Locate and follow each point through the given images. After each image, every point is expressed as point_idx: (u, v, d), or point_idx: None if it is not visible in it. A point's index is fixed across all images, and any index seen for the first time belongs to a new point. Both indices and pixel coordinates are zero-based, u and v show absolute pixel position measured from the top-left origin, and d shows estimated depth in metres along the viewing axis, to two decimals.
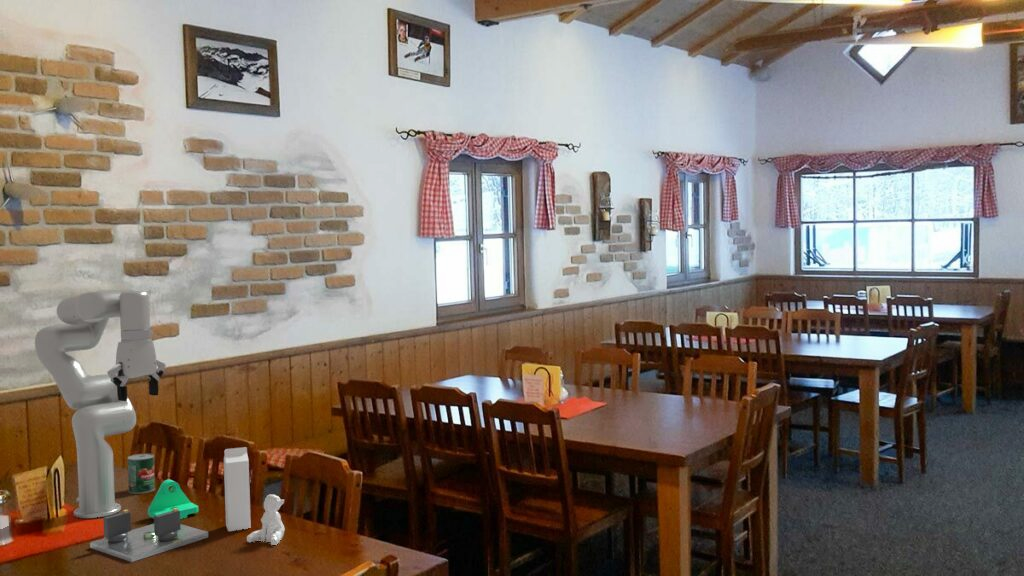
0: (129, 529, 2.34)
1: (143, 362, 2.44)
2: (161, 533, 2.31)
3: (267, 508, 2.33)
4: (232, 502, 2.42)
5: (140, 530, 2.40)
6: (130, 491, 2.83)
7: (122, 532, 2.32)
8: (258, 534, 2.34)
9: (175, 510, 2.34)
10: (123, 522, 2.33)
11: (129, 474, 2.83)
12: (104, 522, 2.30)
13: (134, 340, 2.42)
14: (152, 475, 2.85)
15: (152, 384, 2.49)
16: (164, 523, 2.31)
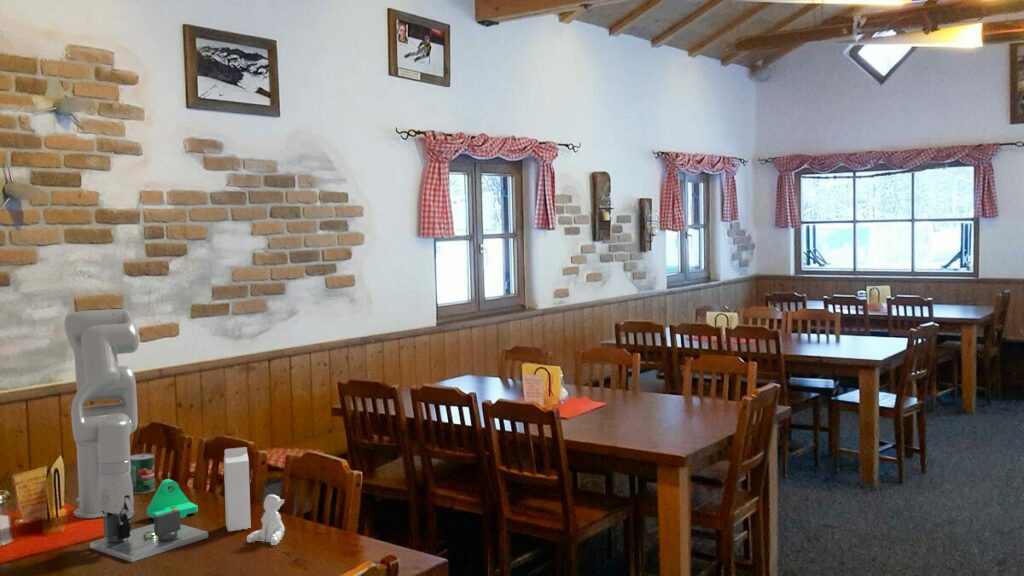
0: None
1: None
2: (161, 533, 2.31)
3: (267, 508, 2.33)
4: (232, 502, 2.42)
5: (140, 530, 2.40)
6: None
7: None
8: (258, 534, 2.34)
9: (175, 510, 2.34)
10: None
11: None
12: (104, 522, 2.30)
13: (130, 469, 2.32)
14: (152, 475, 2.85)
15: None
16: (164, 523, 2.31)
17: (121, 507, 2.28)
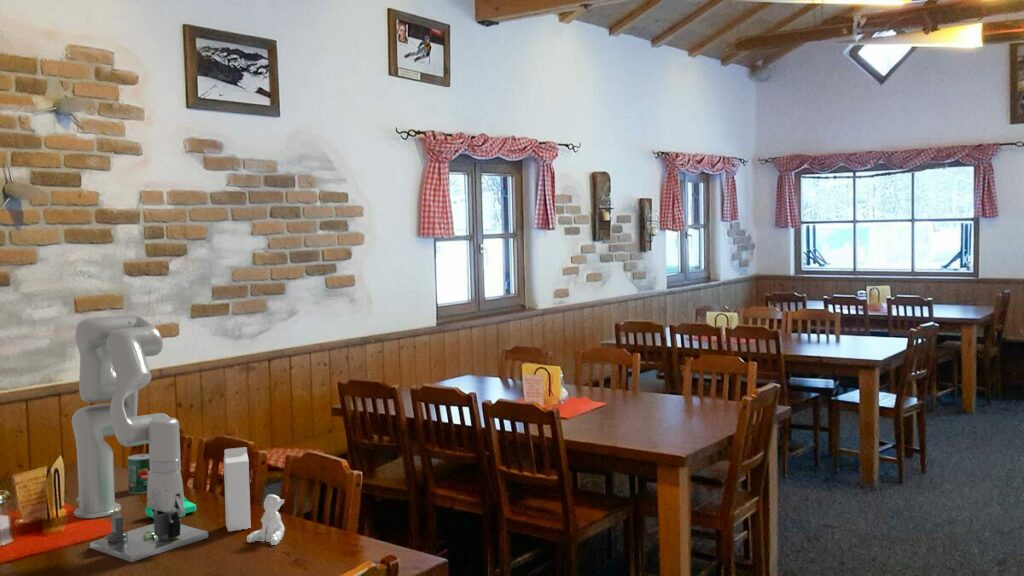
0: None
1: None
2: (161, 533, 2.31)
3: (267, 508, 2.33)
4: (232, 502, 2.42)
5: (140, 530, 2.40)
6: (130, 491, 2.83)
7: None
8: (258, 534, 2.34)
9: None
10: None
11: (129, 474, 2.83)
12: (117, 522, 2.29)
13: (180, 468, 2.33)
14: None
15: None
16: (164, 523, 2.31)
17: (172, 505, 2.28)
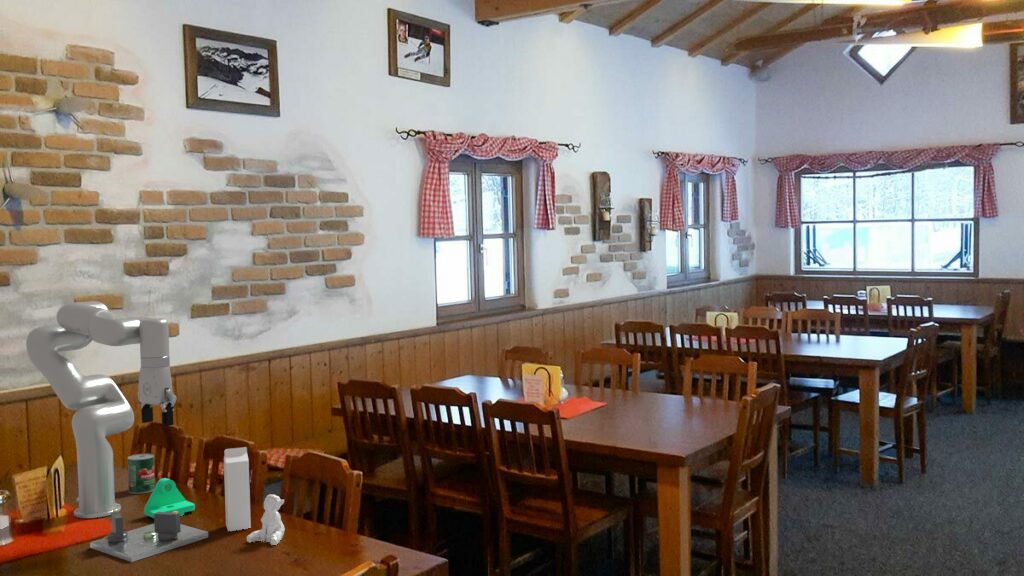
0: None
1: None
2: (157, 530, 2.33)
3: (267, 508, 2.33)
4: (232, 502, 2.42)
5: (140, 530, 2.40)
6: (130, 491, 2.83)
7: None
8: (258, 534, 2.34)
9: (173, 513, 2.32)
10: None
11: (129, 474, 2.83)
12: (117, 522, 2.29)
13: (169, 365, 2.49)
14: (152, 475, 2.85)
15: (148, 411, 2.52)
16: (160, 522, 2.32)
17: (161, 398, 2.44)
